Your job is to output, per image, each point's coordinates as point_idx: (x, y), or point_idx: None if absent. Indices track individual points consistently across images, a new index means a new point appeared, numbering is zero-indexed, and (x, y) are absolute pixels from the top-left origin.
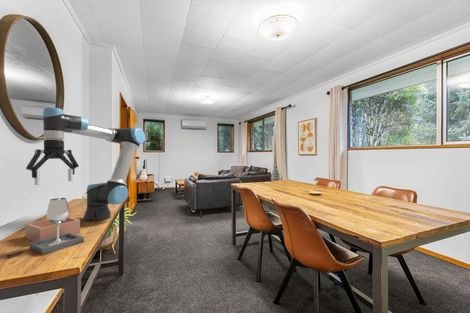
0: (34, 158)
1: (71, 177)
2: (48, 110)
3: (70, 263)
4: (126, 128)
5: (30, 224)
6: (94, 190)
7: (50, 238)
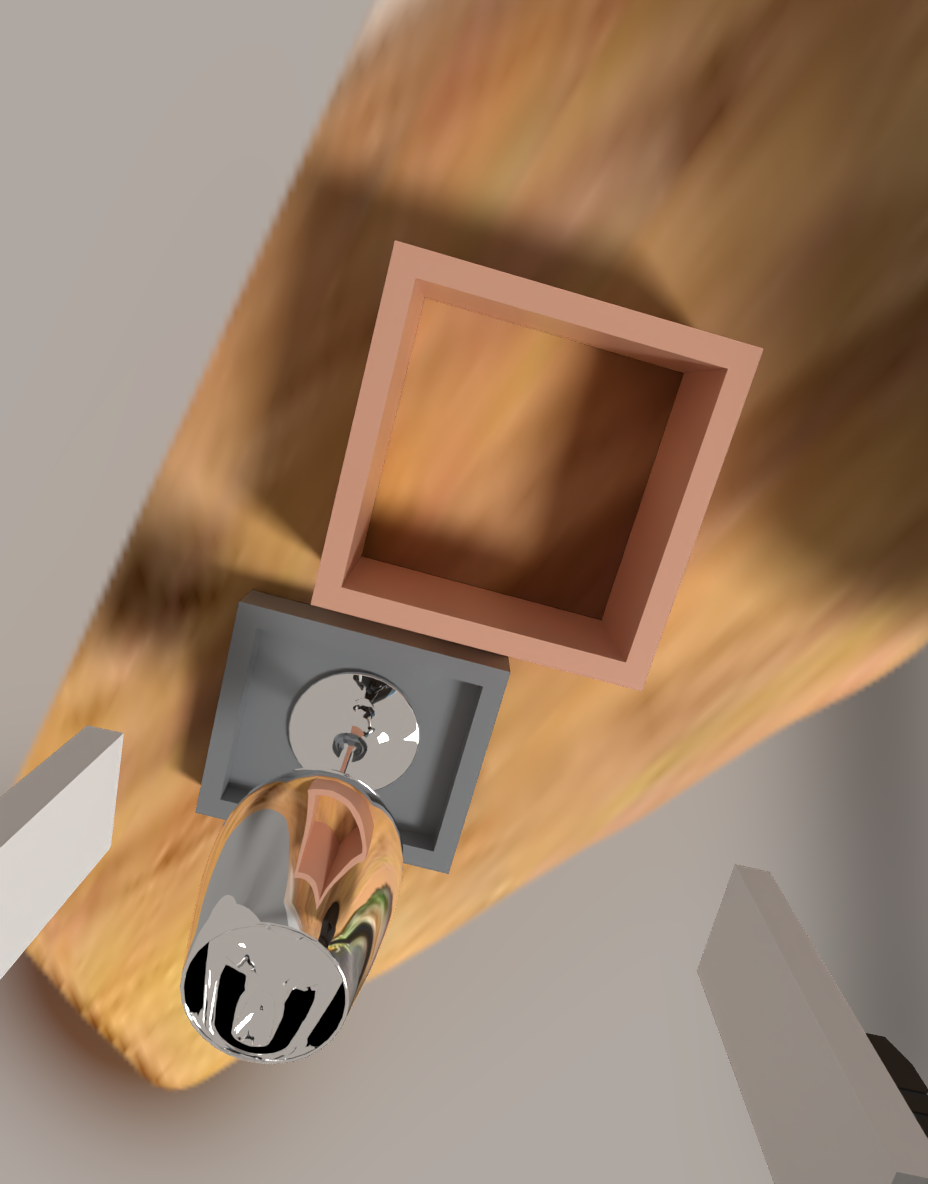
0: None
1: (729, 1051)
2: None
3: (188, 1030)
4: None
5: (391, 334)
6: None
7: (360, 653)
